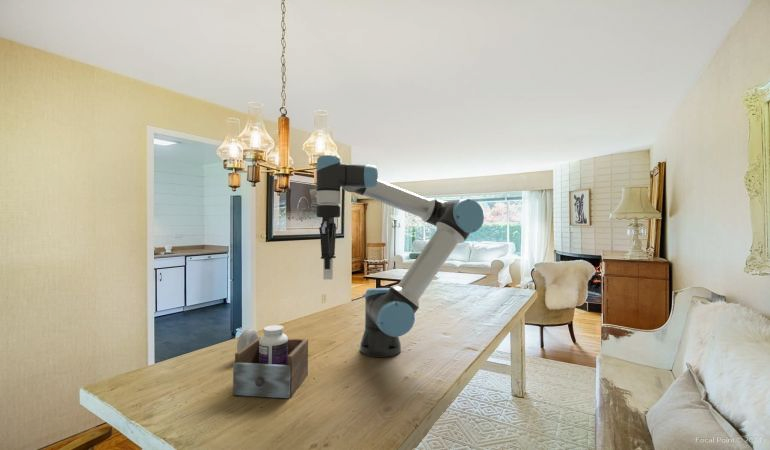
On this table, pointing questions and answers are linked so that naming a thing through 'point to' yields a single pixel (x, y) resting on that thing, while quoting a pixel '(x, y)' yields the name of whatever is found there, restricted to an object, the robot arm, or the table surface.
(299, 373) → the wooden drawer box
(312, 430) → the table surface
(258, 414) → the table surface
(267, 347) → the pill bottle
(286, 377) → the grey drawer
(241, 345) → the donut
